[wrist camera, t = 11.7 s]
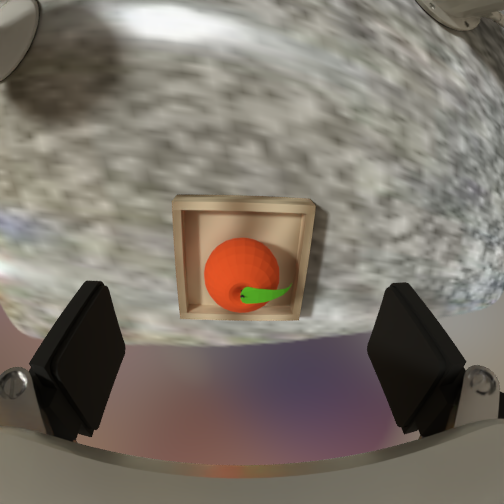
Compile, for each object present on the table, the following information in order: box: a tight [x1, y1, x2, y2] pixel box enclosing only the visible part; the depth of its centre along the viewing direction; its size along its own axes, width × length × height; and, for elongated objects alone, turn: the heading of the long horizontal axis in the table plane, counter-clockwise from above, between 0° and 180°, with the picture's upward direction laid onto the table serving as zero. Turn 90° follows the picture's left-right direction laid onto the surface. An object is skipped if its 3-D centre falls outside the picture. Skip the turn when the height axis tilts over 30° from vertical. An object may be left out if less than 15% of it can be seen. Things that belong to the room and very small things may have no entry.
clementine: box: [204, 238, 292, 313], centre depth 27 cm, size 8×7×7 cm
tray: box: [172, 195, 316, 321], centre depth 30 cm, size 13×13×2 cm
